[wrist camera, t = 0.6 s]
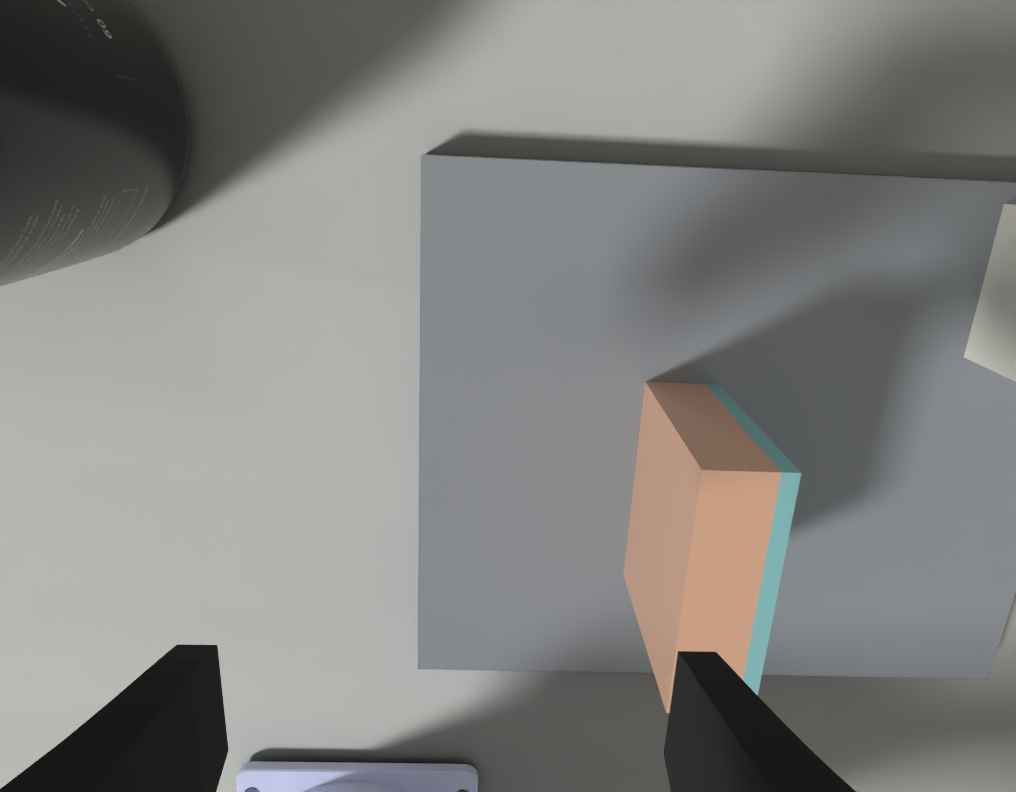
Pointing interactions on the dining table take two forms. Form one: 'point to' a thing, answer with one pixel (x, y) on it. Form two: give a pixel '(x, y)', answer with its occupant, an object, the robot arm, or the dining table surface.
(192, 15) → the dining table surface
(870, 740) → the dining table surface
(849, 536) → the slate board
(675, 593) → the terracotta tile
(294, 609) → the dining table surface
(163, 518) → the dining table surface
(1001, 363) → the cream tile
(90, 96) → the supplement bottle
